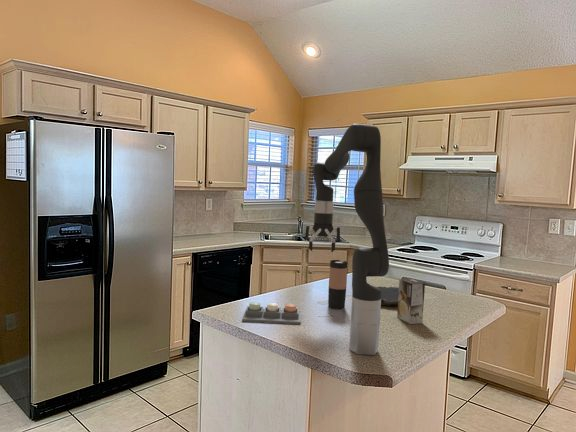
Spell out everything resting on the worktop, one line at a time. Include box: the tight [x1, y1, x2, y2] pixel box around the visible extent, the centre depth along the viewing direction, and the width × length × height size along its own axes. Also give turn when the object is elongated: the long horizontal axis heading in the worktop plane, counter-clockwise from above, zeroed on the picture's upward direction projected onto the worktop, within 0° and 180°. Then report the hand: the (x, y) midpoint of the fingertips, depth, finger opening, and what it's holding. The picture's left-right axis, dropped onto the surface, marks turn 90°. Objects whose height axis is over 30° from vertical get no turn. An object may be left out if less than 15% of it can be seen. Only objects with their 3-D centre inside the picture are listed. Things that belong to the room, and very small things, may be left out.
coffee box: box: [396, 278, 426, 325], centre depth 172 cm, size 9×6×16 cm
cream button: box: [266, 302, 279, 312], centre depth 168 cm, size 4×4×2 cm
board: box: [376, 286, 399, 307], centre depth 200 cm, size 22×22×5 cm
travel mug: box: [327, 259, 349, 310], centre depth 186 cm, size 8×8×20 cm
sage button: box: [248, 301, 261, 311], centre depth 168 cm, size 4×4×2 cm
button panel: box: [241, 305, 302, 325], centre depth 168 cm, size 14×22×3 cm, turn 89°
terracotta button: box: [284, 303, 297, 313], centre depth 168 cm, size 4×4×2 cm
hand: (321, 251), depth 177 cm, fingers open, 8 cm apart
